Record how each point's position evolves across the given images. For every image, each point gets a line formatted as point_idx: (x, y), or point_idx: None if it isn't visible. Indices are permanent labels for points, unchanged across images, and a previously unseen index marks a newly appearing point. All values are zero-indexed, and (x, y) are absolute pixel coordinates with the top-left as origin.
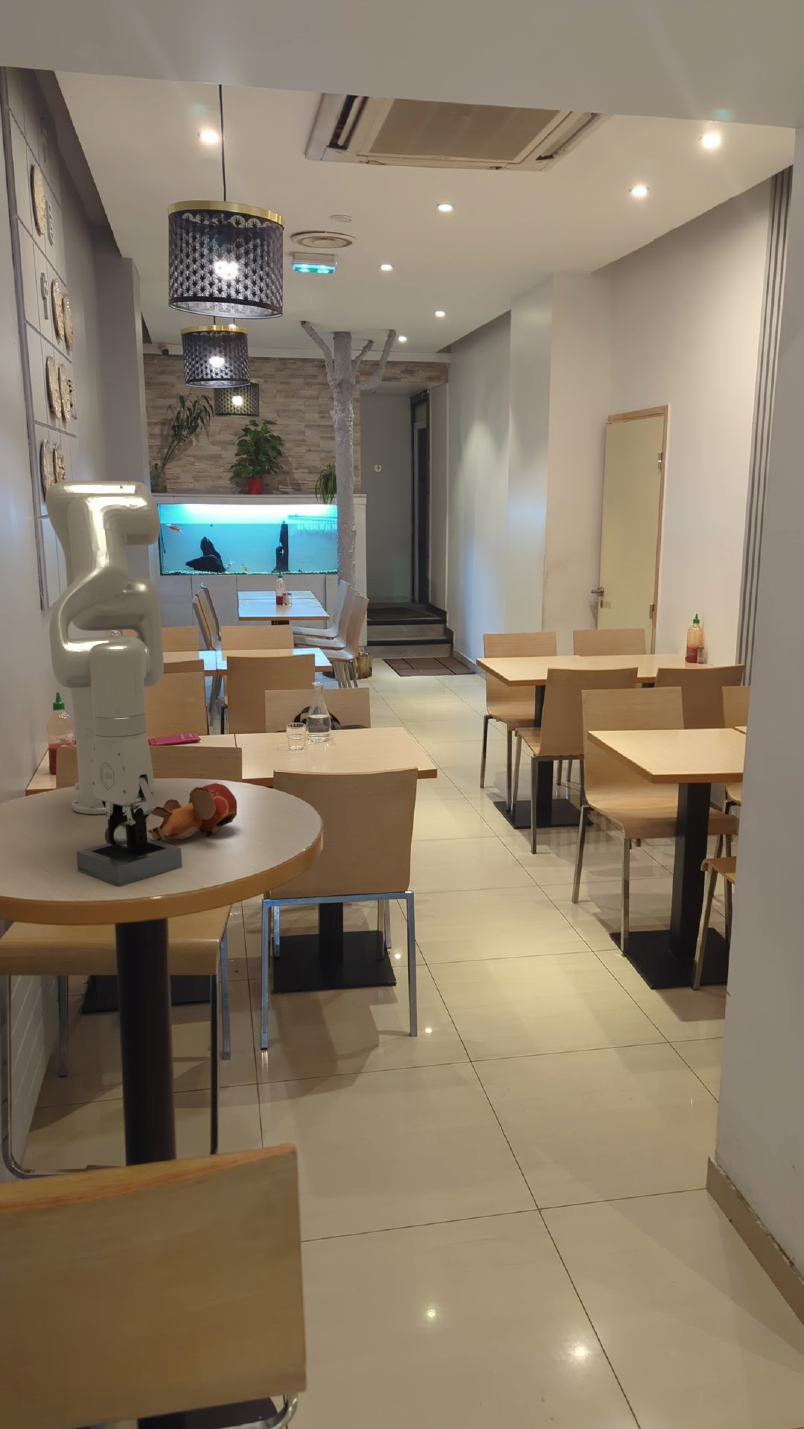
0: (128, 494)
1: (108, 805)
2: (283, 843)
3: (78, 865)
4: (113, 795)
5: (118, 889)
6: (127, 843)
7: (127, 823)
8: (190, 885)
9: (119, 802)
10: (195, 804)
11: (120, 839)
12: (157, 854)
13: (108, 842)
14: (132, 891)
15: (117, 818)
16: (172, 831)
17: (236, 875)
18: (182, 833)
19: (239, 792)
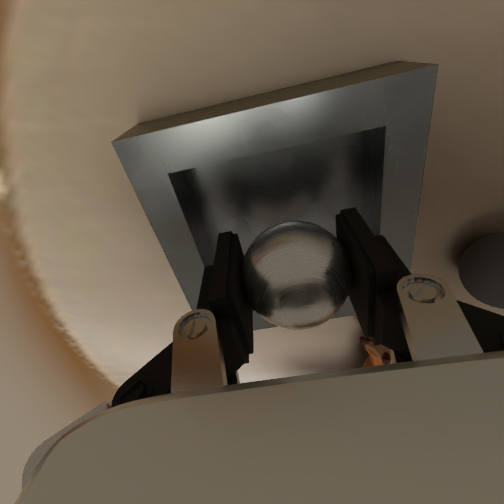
0: None
1: (435, 341)
2: None
3: (399, 63)
4: (232, 477)
5: (110, 112)
6: (225, 244)
7: (285, 310)
8: (68, 271)
9: (144, 422)
10: None
11: (263, 237)
12: (180, 283)
13: (501, 234)
14: (72, 142)
15: (374, 304)
16: (370, 360)
17: (99, 345)
18: (362, 366)
19: None
